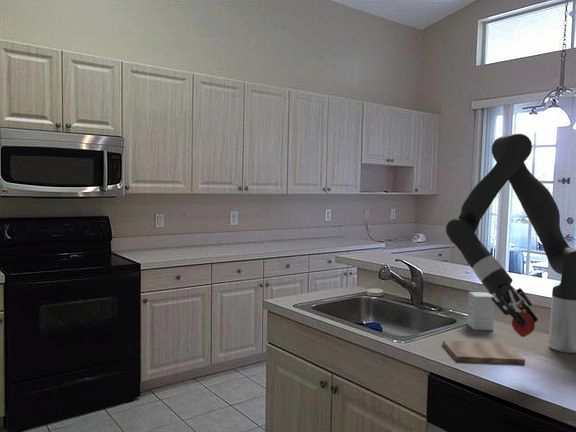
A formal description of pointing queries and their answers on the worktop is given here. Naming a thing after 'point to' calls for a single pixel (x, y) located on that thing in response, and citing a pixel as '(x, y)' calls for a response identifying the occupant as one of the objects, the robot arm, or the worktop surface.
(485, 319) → the supplement box
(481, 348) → the cutting board
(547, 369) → the worktop surface
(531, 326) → the onion
